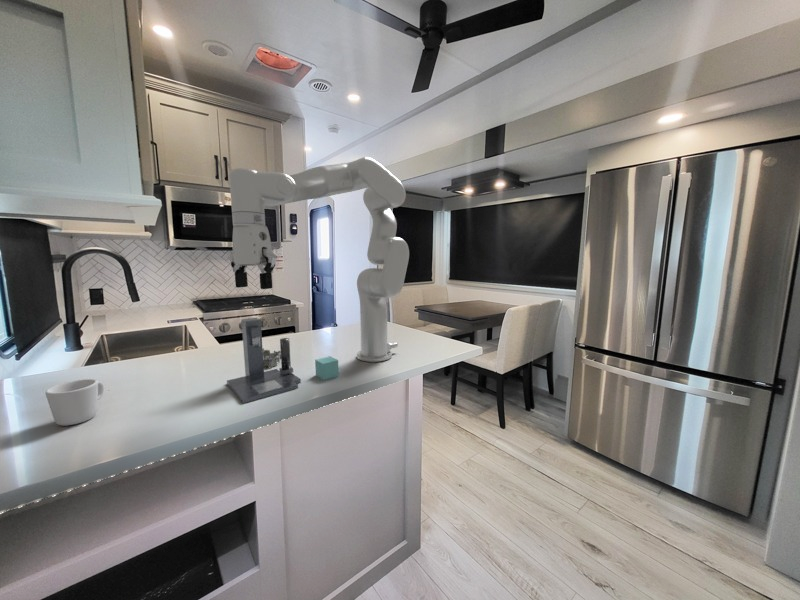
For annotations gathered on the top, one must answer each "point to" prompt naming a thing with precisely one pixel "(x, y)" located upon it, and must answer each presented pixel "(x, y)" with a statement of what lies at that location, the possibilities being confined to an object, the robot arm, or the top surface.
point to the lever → (285, 356)
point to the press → (258, 369)
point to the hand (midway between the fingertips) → (253, 287)
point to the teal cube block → (326, 367)
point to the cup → (74, 401)
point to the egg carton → (271, 358)
